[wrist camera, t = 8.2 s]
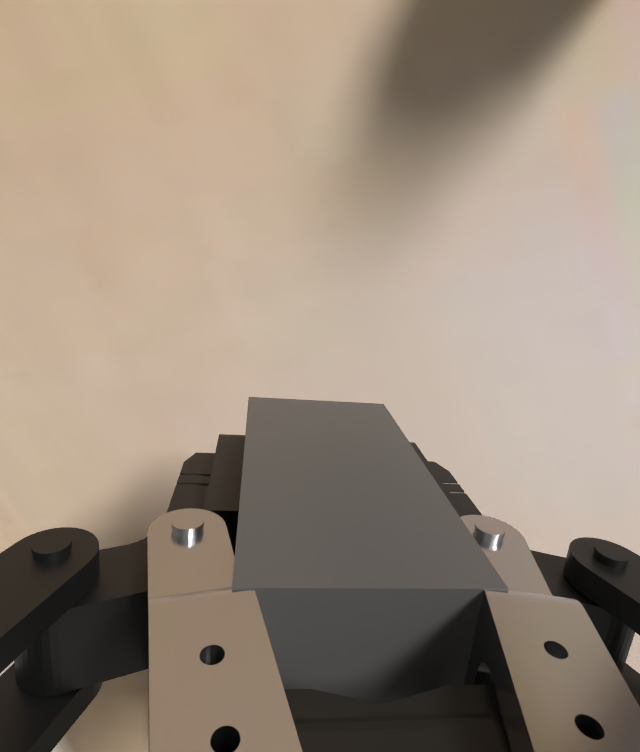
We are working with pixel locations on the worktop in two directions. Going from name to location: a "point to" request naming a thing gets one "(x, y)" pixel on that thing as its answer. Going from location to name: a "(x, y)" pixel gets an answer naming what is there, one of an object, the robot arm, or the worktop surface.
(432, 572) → the grey piece
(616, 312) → the worktop surface
